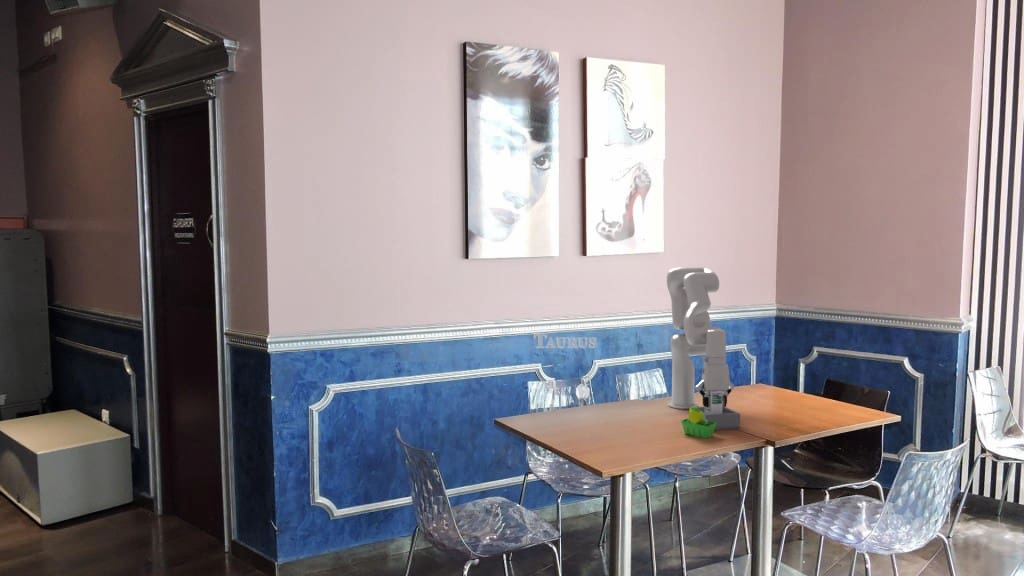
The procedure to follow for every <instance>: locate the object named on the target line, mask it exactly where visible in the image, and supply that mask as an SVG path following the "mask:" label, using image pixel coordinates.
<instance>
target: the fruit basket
mask: <svg viewBox="0 0 1024 576" xmlns="http://www.w3.org/2000/svg"><path fill="white" fill-rule="evenodd" d="M688 410H689V411H688V418H685V419H681V420H680V423H681V424H682V429H683V432H684V434H685V435H688V434H690V435H689V436H692V435H694V436H693V437H697V436H698V437H697V438H703V439H707V437H708V438H710V437H713V436H714V435H713V434H714V432H715V430H714V429H715V426H716V424H717V423H716V422H712V421H707V420H706V419H705V420H703V416H704V414H703V413H702V412H701V411H700V410H699V409H698V408H697V407H696V406H694V407H692V408H691V409H688Z"/></svg>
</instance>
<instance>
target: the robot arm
mask: <svg viewBox="0 0 1024 576" xmlns="http://www.w3.org/2000/svg"><path fill="white" fill-rule="evenodd" d="M666 274H667V275H666V286H667V290H668V292H669V297H670V300H671V316H672V325H673V327H674V329H675V330H678V331H684V333H677V334H674V335H673V336H672V337H671V338H670V341H669V343H670V344H669V345H670V352H671V400H670V401H668V403H667V406H668V407H669V408H673V409H681V410H690V407H694V406H696V407H699V406H698V405H699V403H697V402H695V390H697V392H698V393H699V394H700V395H701V396H702V407H706V408H707V407H708V406H709V398H708V397H707V396H708V394H709V392H710V391H723V390H724V407H727V404H728V396H729V395H730V394H731V392H732V391H733V390H734V388H735V386H736V385H734V384H733V383H732V382H731V381H730V379H731V378H730V371H729V365H728V364H727V363H726V361H727V359H726V357H727V356H726V349H727V346H726V345H727V333H726V330H724V329H723V328H722V329H721V327H719V326H717V325H716V326H714V325H713V326H712V325H711V317H710V314H709V312H708V309H710V307H711V304H712V302H711V299H710V296H709V295H710V294H709V293H716V292H718V291H719V288H720V279H719V277H718V275H717V274H716V273H715V272H714V271H713V270H711V269H708V268H706V267H685V266H684V267H683V266H682V267H675V268H671V269H669V271H668V272H667V273H666ZM690 356H704V357H703V358H702V362H704V364H703V367H702V373H701V381H700V382H699V383H698V384H697V385H695V382H696V381H695V373H696V371H695V370H696V369H695V367H696V366H695V364H694V361H692V359H691V358H690ZM702 389H703V390H702Z"/></svg>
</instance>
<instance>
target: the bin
mask: <svg viewBox="0 0 1024 576" xmlns="http://www.w3.org/2000/svg"><path fill="white" fill-rule="evenodd" d="M691 408H692V407H690V409H691ZM697 408H698V409H699V410H700V411H701V412H702V413H703V414H704V416H703V420H705V419H706V420H707V421H712V422H716V423H717V424H716V426H715V429H714V431H724V430H739V429H741V425H740V423H741V421H740V420H741V413H740V412H738V411H736V410H734V409H731V408H729V407H727V406H726V407H724V414H705V407H704V406H698V407H697ZM690 409H689V410H690Z"/></svg>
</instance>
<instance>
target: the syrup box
mask: <svg viewBox="0 0 1024 576" xmlns="http://www.w3.org/2000/svg"><path fill="white" fill-rule="evenodd" d="M707 397H708V398H709V406H708V407H707V408H706V407H705V414H724V390H723V391H710V392H709V394H708V396H707Z"/></svg>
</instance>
